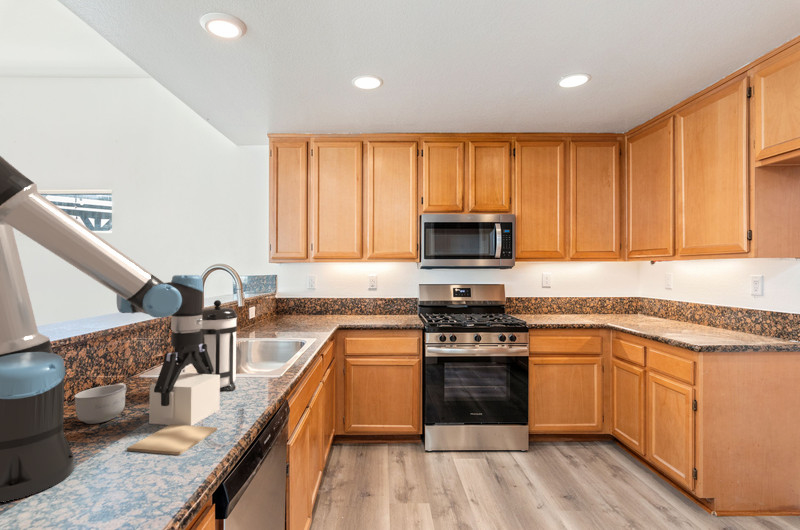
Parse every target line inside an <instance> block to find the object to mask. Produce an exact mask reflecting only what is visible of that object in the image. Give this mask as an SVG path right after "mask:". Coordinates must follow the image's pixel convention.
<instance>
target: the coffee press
mask: <svg viewBox="0 0 800 530" xmlns="http://www.w3.org/2000/svg"><path fill="white" fill-rule="evenodd" d="M213 305H214V307H207V308H206V307H205V308H203V310H202V312H203V313H202V328H201V329H200V330H201V331H202V343H201V344H207V352H208V355H209V357H210V360H211V363H212V366H213V369H214V371H213V372H212V374H215V375H220V389H221V388H223V387H224V388H225V387H226V388H227V389H228V390H229V391H230V390H232V391H235V390H236V388H237V387H236V385H235V383H234V382H235V381H236V379H237V378H236V375H237V374H236V373H237V372H236V370H237V331H238V324H237V319H238V316H239V314H238V313H237V312H236V310H235V309H233V308H232V307H226V306H225V307H223V306H221V305H222V302H221V300H219V299H218V300H215V301H214V302H213ZM207 368H208V367H207ZM196 374H199V373H198V372H197V371H196Z"/></svg>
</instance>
